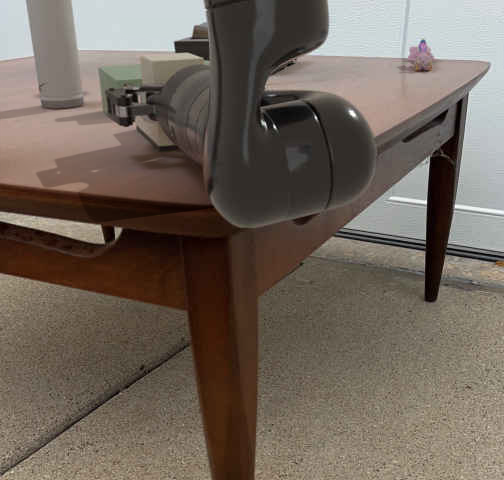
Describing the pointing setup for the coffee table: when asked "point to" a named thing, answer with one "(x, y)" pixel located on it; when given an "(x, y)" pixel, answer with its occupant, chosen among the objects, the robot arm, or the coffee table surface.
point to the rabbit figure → (421, 56)
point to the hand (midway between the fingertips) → (169, 91)
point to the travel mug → (55, 53)
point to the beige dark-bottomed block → (160, 71)
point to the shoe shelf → (120, 78)
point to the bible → (202, 44)
